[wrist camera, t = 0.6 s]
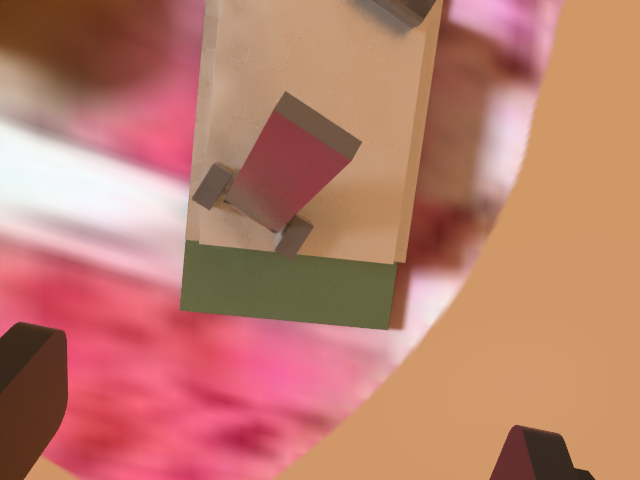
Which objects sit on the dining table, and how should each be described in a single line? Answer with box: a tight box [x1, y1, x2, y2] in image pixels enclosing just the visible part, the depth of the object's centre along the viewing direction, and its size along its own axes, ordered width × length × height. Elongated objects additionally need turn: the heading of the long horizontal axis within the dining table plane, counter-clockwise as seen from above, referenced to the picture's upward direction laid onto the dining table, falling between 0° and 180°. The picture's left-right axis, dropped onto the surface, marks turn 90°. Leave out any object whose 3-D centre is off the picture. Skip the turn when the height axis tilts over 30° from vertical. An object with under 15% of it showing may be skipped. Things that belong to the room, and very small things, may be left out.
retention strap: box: [223, 91, 362, 234], centre depth 25 cm, size 12×3×1 cm
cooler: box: [180, 0, 443, 330], centre depth 32 cm, size 24×13×8 cm, turn 173°
